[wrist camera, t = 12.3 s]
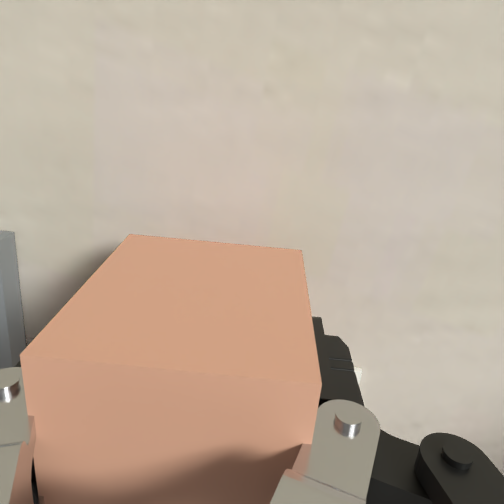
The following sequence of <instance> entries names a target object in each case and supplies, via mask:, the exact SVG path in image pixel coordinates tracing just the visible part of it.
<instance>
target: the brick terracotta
mask: <svg viewBox="0 0 504 504" xmlns="http://www.w3.org/2000/svg"><path fill="white" fill-rule="evenodd" d="M20 361H21V369H22V376H23V384H24V391H25V399H26V406H27V414H28V415H30V416H34V420H35V428H36V441H35V447H34V454H33V459H34V466H35V474H36V482H37V489H38V496H44V503H45V504H270V502H271V500H272V498H273V495H274V493H275V491H276V489H277V486H278V484H279V482H280V480H281V477H282V475H283V473H284V471H285V470H286V469H287V468H289V469H291V470H292V468H293V465H294V463H295V461H296V458H297V456H298V454H299V451H300V449H301V447H302V444H312V440H313V434H314V428H315V422H316V416H317V410H318V405H319V399H320V393H321V387H322V381H321V375H320V368H319V362H318V355H317V348H316V342H315V335H314V329H313V322H312V315H311V309H310V302H309V295H308V289H307V282H306V276H305V269H304V262H303V256H302V250H293V249H283V248H272V247H261V246H251V245H240V244H229V243H219V242H208V241H197V240H187V239H176V238H165V237H155V236H144V235H133V234H129V235H128V236H127V237H126V239H125V240H124V241H123V242H122V243H121V244H120V245H119V246H118V247H117V248H116V250H115V251H114V252H113V253H112V254H111V255H110V256H109V257H108V258H107V259H106V260H105V262H104V263H103V264H102V265H101V266H100V267H99V268H98V269H97V270H96V271H95V273H94V274H93V275H92V276H91V277H90V278H89V279H88V280H87V281H86V282H85V284H84V285H83V286H82V287H81V288H80V289H79V290H78V291H77V292H76V293H75V295H74V296H73V297H72V298H71V299H70V300H69V301H68V302H67V303H66V304H65V306H64V307H63V308H62V309H61V310H60V311H59V312H58V313H57V314H56V315H55V317H54V318H53V319H52V320H51V321H50V322H49V323H48V324H47V325H46V326H45V328H44V329H43V330H42V331H41V332H40V333H39V334H38V335H37V336H36V337H35V338H34V340H33V341H32V342H31V343H30V344H29V345H28V346H27V347H26V348H25V349H24V351H23V352H22V353H21V354H20Z"/></svg>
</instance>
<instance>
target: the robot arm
mask: <svg viewBox="0 0 504 504" xmlns="http://www.w3.org/2000/svg"><path fill="white" fill-rule="evenodd" d="M312 322H313V329H314V335H315V342H316V348H317V355H318V362H319V368H320V375H321V381H322V387H321V393H320V399H319V405H318V410H317V416H316V422H315V428H314V434H313V440H312V444H302V447H301V449H300V451H299V454H298V456H297V458H296V461H295V463H294V465H293V468H292V470H291V469H289V468H287V469H286V470H285V471H284V473H283V475H282V477H281V480H280V482H279V484H278V486H277V489H276V491H275V493H274V495H273V498H272V500H271V502H270V504H504V476H503V475H502V474H501V473H500V472H499V470H498V469H497V468H496V467H495V466H494V464H493V463H492V462H491V461H490V460H489V458H488V457H487V456H486V455H485V454H484V453H483V452H482V451H481V450H480V449H479V448H478V447H477V446H475V445H474V444H472V443H471V442H469V441H467V440H465V439H463V438H461V437H458V436H456V435H452V434H448V433H433V434H430V435H427V436H426V437H424V439H423V440H422V442H421V444H420V446H419V445H416V444H413V443H410V442H407V441H404V440H401V439H399V438H396V437H394V436H391V435H389V434H388V433H386V432H384V431H383V430H381V429H380V424H379V422H378V420H377V418H376V417H375V415H374V414H373V413H372V412H371V411H369V410H368V409H367V408H365V407H364V403H363V400H362V396H361V392H360V388H359V385H358V381H357V377H356V374H355V372H354V366H353V363H352V359H351V355H350V351H349V348H348V347H347V345H346V344H345V343H344V342H343V341H342V340H341V339H340V338H339V337H338V336H329V335H324V330H323V325H322V319H321V317H312ZM35 441H36V428H35V420H34V416H30V415H28V414H27V406H26V399H25V391H24V384H23V376H22V369H21V361H19V362H18V363H17V364H16V366H15V367H9V368H4V369H0V504H45V503H44V496H38V489H37V482H36V474H35V466H34V459H33V454H34V447H35Z"/></svg>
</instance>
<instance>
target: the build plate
mask: <svg viewBox="0 0 504 504" xmlns="http://www.w3.org/2000/svg"><path fill="white" fill-rule="evenodd" d="M25 348H26V340H25V331H24V321H23V312H22V302H21V293H20V284H19V274H18V265H17V256H16V246H15V237H14V232H9V231H0V369H4V368H9V367H15V366H16V364H17V363H18V362H19V361H20V354H21V353H22V352H23V351H24V349H25Z"/></svg>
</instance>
